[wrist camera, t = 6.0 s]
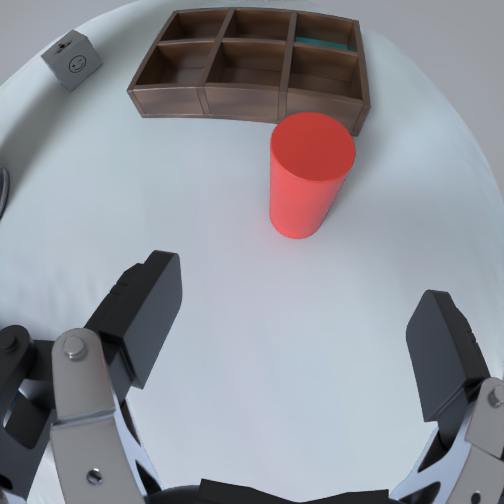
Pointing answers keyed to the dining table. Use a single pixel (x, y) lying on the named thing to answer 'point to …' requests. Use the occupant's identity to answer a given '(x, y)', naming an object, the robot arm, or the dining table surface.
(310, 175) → the red cylinder
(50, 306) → the dining table surface
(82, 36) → the dice cube
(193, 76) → the grid
